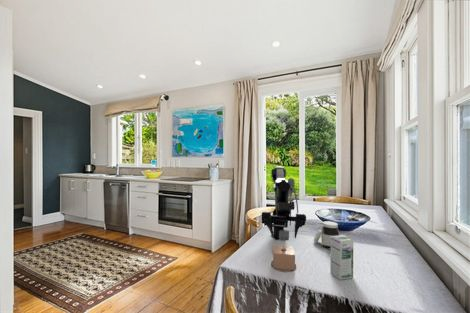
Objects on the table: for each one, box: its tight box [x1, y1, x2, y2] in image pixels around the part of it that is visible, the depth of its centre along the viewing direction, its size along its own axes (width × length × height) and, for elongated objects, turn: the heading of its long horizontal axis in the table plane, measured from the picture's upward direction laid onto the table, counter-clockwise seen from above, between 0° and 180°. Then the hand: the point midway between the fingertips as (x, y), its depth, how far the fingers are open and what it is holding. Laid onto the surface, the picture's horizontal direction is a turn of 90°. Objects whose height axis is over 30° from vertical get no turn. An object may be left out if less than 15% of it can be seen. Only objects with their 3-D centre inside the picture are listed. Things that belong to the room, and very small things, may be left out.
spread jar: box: [313, 220, 340, 250], centre depth 116 cm, size 12×11×12 cm
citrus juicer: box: [287, 177, 299, 226], centre depth 156 cm, size 11×10×30 cm
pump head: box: [279, 229, 290, 251], centre depth 93 cm, size 6×4×8 cm, turn 173°
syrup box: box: [329, 234, 354, 281], centre depth 87 cm, size 6×6×14 cm
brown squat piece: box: [270, 245, 297, 273], centre depth 94 cm, size 10×10×6 cm
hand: (284, 237), depth 94 cm, fingers open, 9 cm apart
